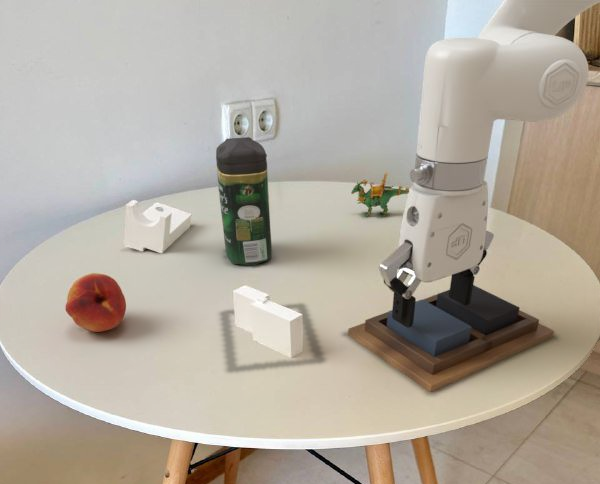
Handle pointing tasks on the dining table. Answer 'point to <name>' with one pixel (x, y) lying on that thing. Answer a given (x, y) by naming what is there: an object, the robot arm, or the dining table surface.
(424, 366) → the wooden tray
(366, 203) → the figurine
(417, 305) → the pad front
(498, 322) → the pad near
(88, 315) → the fruit
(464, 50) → the robot arm
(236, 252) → the coffee jar
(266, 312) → the white stepped block
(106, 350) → the dining table surface
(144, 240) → the bracket
